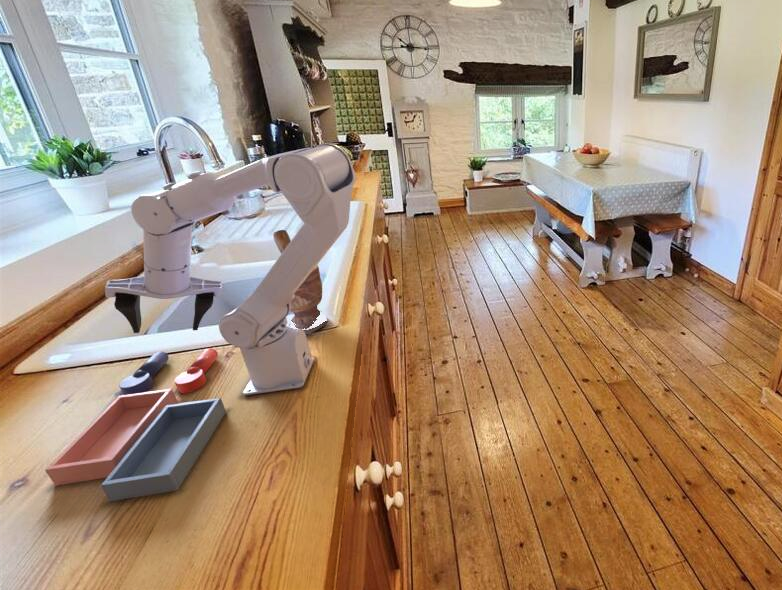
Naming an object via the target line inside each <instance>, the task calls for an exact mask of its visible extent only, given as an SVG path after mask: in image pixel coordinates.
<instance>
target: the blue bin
mask: <svg viewBox="0 0 782 590" xmlns="http://www.w3.org/2000/svg"><path fill="white" fill-rule="evenodd" d="M226 413H227V411H226V408H225V405H224V403H223V400H222V398H221V397H216V398H207V399H202V400H193V401H187V402H178V403H177V404H172V405H166V406H165V407H164V409H163V410H162V411H161V412H160V414H159V415H158V416H157V417H156V419H155V420H154V421H153V422H152V423H151V425H150V426H149V427H148V428H147V430H146V431H145V432H144V433H143V434H142V436H141V437H140V438H139V439H138V441H137V442H136V443H135V444H134V445H133V447H132V448H131V449H130V450H129V451H128V453H127V454H126V455H125V456H124V458H123V459H122V460H121V461H120V462H119V464H118V465H117V466H116V467H115V469H114V470H113V471H112V472H111V473H110V475H109V476H108V477H107V478H105V479H104V481H103V482H102V483H101V484H100V487H101V489H102V491H103V492H104V493H105V495H106V497H107V499H108V500H109V502H114V501H115V502H116V501H121V500H127V499H134V498H140V497H146V496H151V495H157V494H163V493H164V494H165V493H170V492H176V491H178V490H179V489H180V488H181V486H182V484H183V482H184V481H185V479H186V477H187V476H188V474H189V473H190V471H191V469H192V468H193V466H194V465H195V463H196V461H197V460H198V458H199V456H200V455H201V453H202V452H203V450H204V449H205V447H206V445H207V444H208V442H209V440H210V439H211V438H212V436H213V434H214V432H215V431H216V429H217V427H218V426H219V424H220V423H221V421H222V419H223V418H224V416H225V415H226Z"/></svg>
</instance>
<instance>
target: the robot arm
mask: <svg viewBox="0 0 782 590" xmlns="http://www.w3.org/2000/svg"><path fill="white" fill-rule="evenodd" d="M186 177H187V178H188V179H185V180H183V181H181V182H179V183H176V182H169V183H167V184H164V185H163V186H162V188H163V189H162V190H160V191H156V192H153V193H149V194H141V195H139V196H138V197H137V198H136V199H135V200H133V202H132V203H131V206H130V207H131V208H130V209H131V215H132V218H133V220H134V221H135V223H136V225H138V226H139V227H140V228H141V229H142V234H143V236H142V238H143V276H137V277H130V278H123V279H108V280H107V281H106V284H105V286H104V296H105V298H115V300H114V302H113V305H114V308H115V310H117V311H118V312H119V313H121V315H123V316H124V317H125V319H126V320H127V321H128V323H129V325H130V326H131V329H132V331H133V333H134V334H140V332H141V328H142V313H141V297H147V298H152V299H159V300H171V299H178V298H184V297H189V296H195V300H194V313H193V314H194V315H193V320H192V321H193V322H192V331H198V329H199V326H200V324H201V322H202V320H203V317H204V316H205V315H206V313H207V312H208V311H209V310H210V309H211V308H212V306H213V305H214V297H217V298H220V297H221V298H222V295H223V293H222V292H223V281H222V280H212V279H211V280H210V279H204V278H199V277H195V276H191V272H192V271H191V269H192V268H191V266H192V239H193V238H192V237H193V232H194V231H195V230H196V223H197V222H199V221H200V220H203V219H206V218H209V217H211V216H214V215H217V214H220V213H222V212H225V211H228V210H230V209H231V208H233V206H234V204H235V201H236V197H238V196H241V195H243V194H247V193H250V192H253V191H254V190H255V191H256V190H258V189H261V188H265V187H267V186H268V187H269V188H270V189H271V190H272V191H273V192H274V193H277V194H278V193H280V192H281V194H282V195H283V196H284V198H285V199H286V201H287V202H288V203H289V205H290V206H291V208H292V209H293V210H294V212H295V213H296V215H297V216H298V217H299V219H300V220H301V222H302V223H303V224H302V225H301V226H300V227H299V229H298V230H297V232H296V233H295V235H294V236H293V237H292V238H291V239H290V240H291V242H290V243H289V244H288V246H287V247H286V249H285V250H284V251H283V253H282V254H281V253H280V255H279V257H278V258H277V259H276V261H275V262H274V263H273V264H272V267H271V268H270V269H269V270H268V272H267V273H266V274H265V275H264V277H263V279H262V280H261V281H260V282H259V284H258V285H257V287H256V288H255V290H254V291H253V292H252V293H251V294H250V295H249V296H248V297H246V298H245V299H244V300H243V301H242V302H241V303H240V304H239V305H238V306H237V307H236V308H235V309H233V310H231V312H229V313H226V314H224V315H223V316H222V317H220V318H221V319H220V320H219V321H218V330H219V333H220V335H221V337H222V338H223V339H224V341H225V342H226V343H228V344H229V345H231V346H233V347H234V348H238V349H239V350H240V353H241V356H242V359H243V361H244V364H245V367H246V370H247V372H248V376H249V378H250V379H249V381H248V383H247V384H246V386H245V388H244V389H243V391H242V395H243V396H248V395H257V394H263V393H264V394H265V393H271V392H279V391H287V390H295V389H300V388H303V387H304V385H305V383H306V381H307V378H308V375H309V373H310V371H311V369H312V366H313V363H314V361H315V357H314V356H312V352H311V349H310V344H309V341H308V337H307V334H305V332H304V331H303V330H302V329H293V328H290V326H289V327H288V326H287V325H288V320H287V317H288V316H289V315H290V313H291V311H290V310H291V302H292V300H293V299H294V298H295V295H294V293H295V292H296V291H297V290H298V288H299V287H300V286H301V284H302V283H303V282H304V281H305V279H306V278H307V277H308V276H309V274H310V273H311V272H312V271H313V269H314V268H315V267H316V265H319V262H321V261H322V259H323V258H324V257H325V255H327V253H328V251H330V249H331V248H332V247H333V245H334V244H335V243H336V241H337V240H339V238H340V237H341V235H342V234H343V233H344V232H345V230H346V229H347V227H348V225H349V222H350V213H351V211H350V210H351V200H352V190H353V187H354V185H355V182H356V180H357V176H356V172H355V170H354V167H353V164H352V161H351V157H350V156H349V154H348V153H347V151H345V150H344V149H343V148H342V147H340V146H338V145H336V144H334V143H330V142H329V143H328V142H327V143H326V142H325V143H320V144H317V145H316V146H315V147H304V148H300V149H299V148H298V149H296V150H290V151H286V152H282V153H277V154H274V155H270V156H267V157H263V158H261V159H259V160H256V161H254V162H252V163H249V164H247V165H244V166H242V167H241V168H238V169H236V170H233V171H231V172H229V173H227V174H225V175H220V174H218V173H215V172H210V171H208V172H207V171H206V172H203V171H202V170H198V171H194V172H190V173H188V174H187V175H186Z"/></svg>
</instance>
